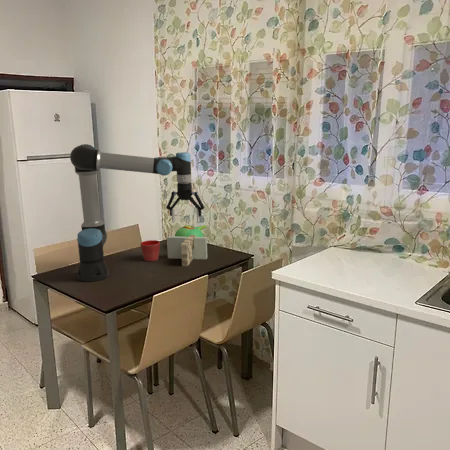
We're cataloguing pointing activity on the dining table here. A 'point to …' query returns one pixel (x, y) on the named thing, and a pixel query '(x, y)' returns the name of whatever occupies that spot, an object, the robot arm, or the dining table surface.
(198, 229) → the green rounded piece
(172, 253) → the sage slotted rail
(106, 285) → the dining table surface
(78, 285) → the dining table surface
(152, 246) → the flower pot
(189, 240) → the birch slotted plate
